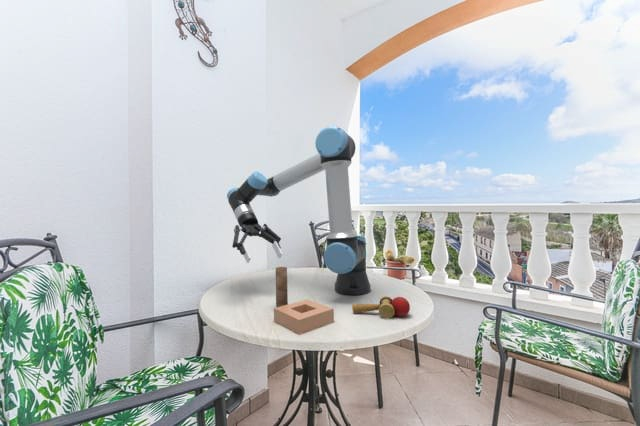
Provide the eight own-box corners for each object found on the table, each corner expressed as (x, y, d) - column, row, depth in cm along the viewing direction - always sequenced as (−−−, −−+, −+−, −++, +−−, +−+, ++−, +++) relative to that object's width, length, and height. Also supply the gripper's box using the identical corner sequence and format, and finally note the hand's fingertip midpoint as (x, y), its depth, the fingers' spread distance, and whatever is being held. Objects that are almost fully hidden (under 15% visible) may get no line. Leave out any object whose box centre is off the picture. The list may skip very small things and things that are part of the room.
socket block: (307, 311, 98) (306, 299, 98) (333, 321, 88) (333, 308, 88) (274, 321, 89) (273, 308, 89) (299, 334, 79) (299, 319, 79)
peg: (283, 305, 104) (282, 266, 104) (290, 308, 101) (289, 268, 101) (274, 307, 101) (273, 268, 101) (280, 310, 98) (279, 269, 98)
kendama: (353, 322, 91) (412, 317, 87) (350, 301, 92) (408, 296, 88) (355, 318, 98) (410, 313, 94) (353, 298, 99) (407, 293, 96)
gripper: (269, 222, 130) (288, 260, 119) (214, 225, 114) (230, 269, 103) (275, 211, 126) (296, 248, 115) (219, 211, 110) (237, 255, 99)
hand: (265, 258), depth 109 cm, fingers open, 13 cm apart
